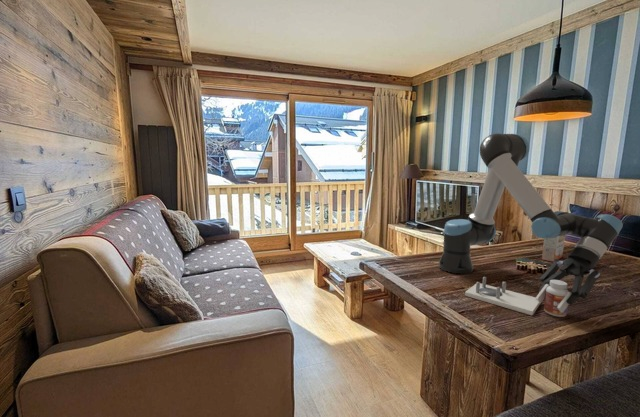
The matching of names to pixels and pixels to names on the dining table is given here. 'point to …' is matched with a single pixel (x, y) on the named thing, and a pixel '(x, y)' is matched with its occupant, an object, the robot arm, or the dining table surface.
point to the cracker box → (553, 248)
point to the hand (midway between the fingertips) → (548, 305)
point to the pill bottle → (555, 297)
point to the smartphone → (533, 261)
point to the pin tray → (503, 297)
